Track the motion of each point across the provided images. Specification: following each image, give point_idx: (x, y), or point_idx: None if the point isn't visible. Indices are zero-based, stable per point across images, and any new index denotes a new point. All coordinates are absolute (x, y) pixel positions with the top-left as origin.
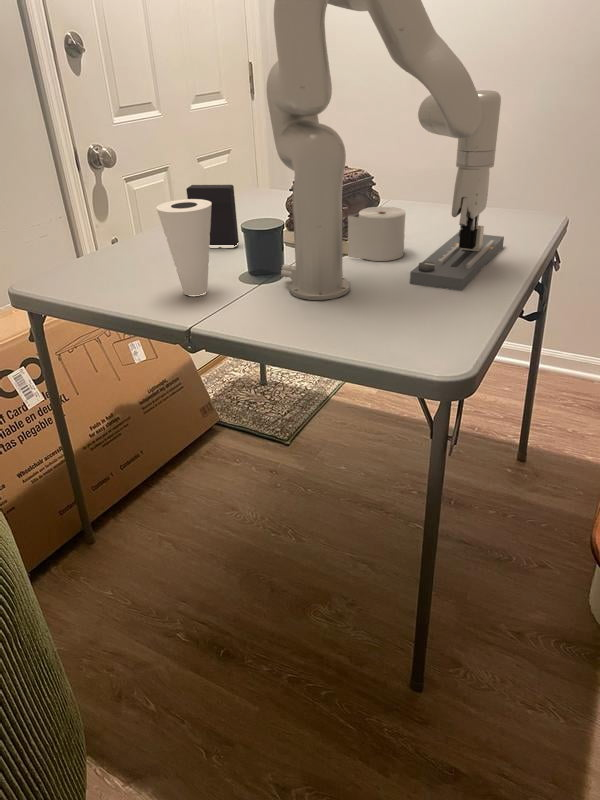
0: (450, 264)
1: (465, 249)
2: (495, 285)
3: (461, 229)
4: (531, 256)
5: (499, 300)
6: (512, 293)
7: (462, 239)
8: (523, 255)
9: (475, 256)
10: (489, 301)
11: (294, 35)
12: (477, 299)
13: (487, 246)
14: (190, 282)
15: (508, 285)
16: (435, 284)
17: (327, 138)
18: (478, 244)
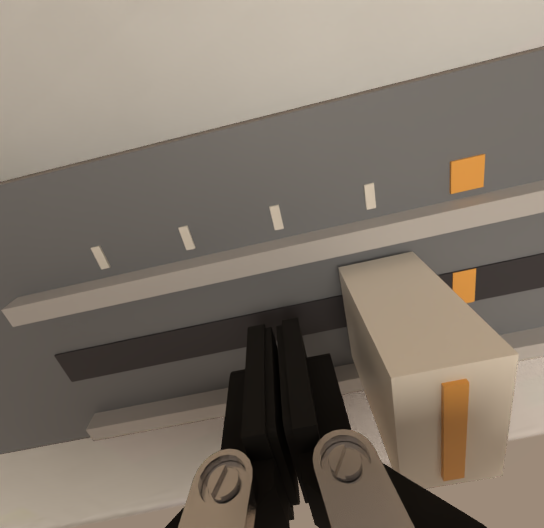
0: (77, 343)
1: (343, 295)
2: (153, 455)
3: (202, 472)
4: (528, 415)
5: (54, 503)
6: (132, 503)
7: (227, 397)
8: (533, 393)
9: (225, 407)
10: (22, 492)
11: None
12: (2, 469)
13: None
14: None
15: (183, 476)
16: None
17: None
18: (362, 384)
